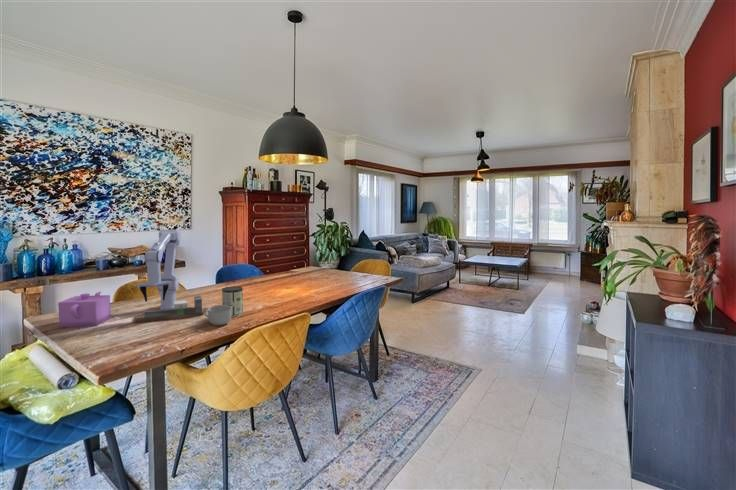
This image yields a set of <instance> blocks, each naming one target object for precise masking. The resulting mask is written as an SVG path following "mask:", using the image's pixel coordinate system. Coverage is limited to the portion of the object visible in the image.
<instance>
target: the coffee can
mask: <svg viewBox="0 0 736 490" xmlns="http://www.w3.org/2000/svg"><path fill="white" fill-rule="evenodd" d="M243 289H244V288H243V287H242V286H226V287H223V288H221V293H222V294H221V295H222V298H221V299H222V304H221V305H228V306H231V307H232V308H231V318H235V317H239V316H242V315H243V314H244V312H243V311H244V310H243V309H244V308H243V303H244V301H243Z"/></svg>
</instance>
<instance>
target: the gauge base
mask: <svg viewBox="0 0 736 490" xmlns="http://www.w3.org/2000/svg"><path fill="white" fill-rule="evenodd" d="M193 297H194V300H193V301H194V305H193V307H191V306H190V307H189V306H187V308H182V309H174V308H173V309H163V310H160V309H158V310H149V311H148V310H147V311H143V312H139V313H136V316H135V320H134V321H135V323H136V324H137V323H147V322H155V321H163V320H173V319H182V318H183V319H184V318H190V317H201V316H204V314H203V310H204V309H203V301H202V300H203V298H202V296H201V294H196V295H193Z"/></svg>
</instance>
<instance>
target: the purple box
mask: <svg viewBox="0 0 736 490" xmlns="http://www.w3.org/2000/svg"><path fill="white" fill-rule="evenodd" d="M101 294H102V291H97V292H95V294H94V295H91V294H90V293H88V292H87V293H86V292H85V293H81V294H80V295H75V296H72V297H70V298H66V299H64V300H62V301H59V302H58V303H57V305H58V321H59V323H58V324H59V328H73V327H74V328H79V327H82V328H83V327H98V326H100V325H101V324H103V323H105V322H106V321H108V320H110V319H111V318H112V315H111V296H110V295H109V294H106V295H101Z"/></svg>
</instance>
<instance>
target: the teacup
mask: <svg viewBox="0 0 736 490" xmlns="http://www.w3.org/2000/svg"><path fill="white" fill-rule="evenodd" d="M231 308H232V307H231V306H228V305H222V304H219V305H212V306H210V307H209V306H208V307H204V308H203V309H202V310H203V316H205V317H206V318H207V319H208V322H209V323H210V324H211V325H213V326H218V327H219V326H225V325H226V324H228V323H230V321H231V319H232V317H231Z"/></svg>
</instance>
